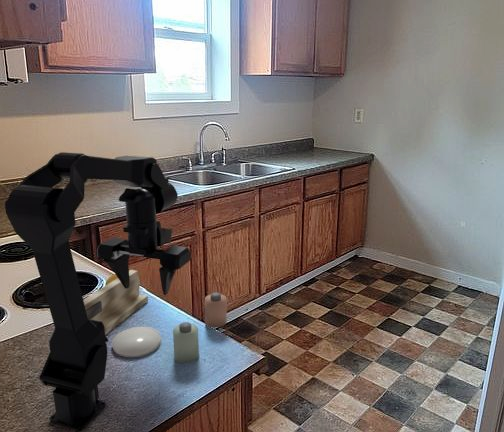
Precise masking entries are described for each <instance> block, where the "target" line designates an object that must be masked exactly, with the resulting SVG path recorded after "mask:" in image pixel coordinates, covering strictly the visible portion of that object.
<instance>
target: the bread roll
mask: <svg viewBox="0 0 504 432" xmlns="http://www.w3.org/2000/svg"><path fill="white" fill-rule="evenodd" d="M117 278H118V277H117V276H116V274H115V273H114V274H113V275H111V276H109V277H108V278H107V280H106V281H105V283H104V284H105V285H104V286H106V285H107V284H109V283H111V282H112V281H114V280H115V279H117ZM138 283H139V287H140V286H141V279H140V277H139V276H138Z"/></svg>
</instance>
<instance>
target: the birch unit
mask: <svg viewBox="0 0 504 432" xmlns="http://www.w3.org/2000/svg"><path fill="white" fill-rule="evenodd" d="M138 277H139V273H138V270H135V269H129V278H130V284H129V288H127V289H125V288H124V286H123V285H122V283H121V282H120V280H119V279H118V278H117V279H115V280H114V281H112V282H111V283H109V284H107V285H106V286H105V285H104V286H103V287H100V289H98V290H97V291H95V292H93V293H92V294H90V295H88V296H87V297H85V298H83V301H84V305H85V309H86V313H87V317H88V319H90V320H95V321H100V322H102V323H103V325H104V328H105V335H106V336H107V334H109V333H110V332H111V331H112V330H113V329H115V328H117V326H119V325H120V324H121V323H122V322H123V321H125V320H126V319H127V318H128V317H130V316H131V315H133V313H135V312H136V311H137V310H139V309H140V308H141V307H143V306H145V304H147V303H148V302H149V296H148V295H146V294H140V286H139V283H138Z"/></svg>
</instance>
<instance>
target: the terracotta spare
mask: <svg viewBox="0 0 504 432" xmlns="http://www.w3.org/2000/svg"><path fill="white" fill-rule="evenodd" d="M227 299H228V298H227V297H226V295H223V294H221V293H220V292H212V293H210V294H208V295H206V296H205V298H204V323H205V325H206V326H207V327H209V328H213V329H215V328H217V329H218V328H222V327H224V326H226V324H227V320H228V319H227V318H228V317H227V316H228V315H227V314H228V313H227V312H228V305H227V302H228V300H227Z"/></svg>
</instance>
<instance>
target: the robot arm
mask: <svg viewBox="0 0 504 432" xmlns="http://www.w3.org/2000/svg"><path fill="white" fill-rule="evenodd" d="M157 162H158V161H157V159H156V158H155V157H150V156H136V155H135V156H134V155H123V156H121V155H120V156H116V157H115V158H109V157H100V156H94V155H93V156H92V155H86V154H84V153H80V152H78V153H77V152H66V151H65V152H58V153H55V154H54V155H53V156H52V157H51V158H50V159H49V161H48V162H47V163H46V164H45V165H43V166H41V167H39V168H38V169H36V170H35V171H32V172H31V173H30V174H28V175H26V177H25V178H23V179H22V181H20V183H19V184H18V185H17V186H15V188H13V189H12V190H11V192H10V193H9V195H8V198H7V199H6V200H5V203H4V210H5V214H6V217H7V219H8V220H9V222H10V224H11V226H12V229H13V230H14V233H16V235H17V236H18V237H19V238H20V239H21V240H22V241H23V242H24V243H25V244H26V245H27V246H28V247H29V248H30V249H31V251H32V253H33V257H34V261H35V264H36V267H37V271H38V275H39V277H40V280H41V283H42V288H43V292H44V295H45V299H46V301H47V305H48V309H49V311H50V315H51V319H52V322H53V325H54V330H53V332H52V334H51V337H50V339H49V340H48V344H49V345H48V346H49V351H50V352H49V353H48V356H47V359H46V360H45V363H44V365H43V368H42V370H41V372H40V375H39V377H38V379H39V381H40V382H41V384H42V386H45V387H47V386H48V387H51V388H55V389H53V390H52V397H53V403H54V411H55V412H54V413H53V414H52V415H51V416H49V421H50V422H51V423H54V424H57V425H60V426H63V427H65V428H69V429H72V430H74V431H78V432H79V431H83V429H85V427H86V426H87V425H89V423H91V421H93V420H94V418H96V416H97V415H98V414H99V413H101V411H102V410H103V409H104V408H106V402H105V401H102V400H99V399H100V397H99V395H100V394H99V388H98V386H99V385H100V384H101V383H102V382H103V381H104V380H105V376H106V370H107V369H106V368H107V363H108V362H107V361H108V345H107V343H108V342H109V339H108V338H107V334H106V335H105V328H104V325H103V323H102V322H100V321H95V320H90V319H88V317H87V313H86V309H85V305H84V301H83V300H84V297H83V293H82V289H81V286H80V281H79V278H78V274H77V270H76V266H75V262H74V261H75V260H74V258H73V253H72V250H71V246H70V245H71V244H70V238H71V236H72V234H73V231H74V229H75V226H76V216H75V212H76V211H77V210H78V208H79V207H80V205H81V204H82V202H83V201H84V199H85V187H86V186H85V184H86V182H87V181H88V180H89V179H90V180H106V181H109V180H111V181H113V182H114V183H116V184H119V185H123V186H129V187H132V188H124V191H123V193H121V194H120V196H119V198H118V201H119V202H120V203H121V202H122V203H125V214H126V225H124V226H123V229H122V230H123V232H124V233H127V239H126V238H119V237H111V238H110V239H107V240H105V241H103V242H101V243H99V245H97V249H96V251H97V252H96V253H97V258H98V259H101V260H103V263H105V264H106V265H108V267H109V268H110V269H111V271H112V272H113V273H114V275H115V274H116V276H117V277H118V279H119V280H120V282H121V283H122V285H123V286H124V288H125V289H127V288H129V284H130V278H129V271H130V269H129V260H130V256H134V257H140V258H141V257H142V258H146V259H147V258H148V259H155V260H159V265H160V266H161V267H160V268H158V270H159V276H160V282H161V283H160V284H161V290H162V293H163V295H164V296H167V295H168V294H169V292H170V288H171V284H172V281H173V279H174V276H175V274H176V273H177V272H176V271H178V270H180V269H181V268H182V267H184V266H185V265H186V264H188V263H189V262H190V261H191V260H192V252H191V250H190V249H189V248H188V247H187V246H179V245H171V246H170V247H168V248H166V249H159V247H163V246H164V245H165V243H166V244H171V242H172V235H173V228H164V227H162V225H161V221H158V220H157V214H159V213H160V212H161V213H162V212H163V211H165V210H166V209H169V208H170V207H173V206H174V205H175V204H176V202H177V200H178V196H179V195H178V192H177V190H176V188H175V186H174V185H173V184H171V183H170V182H169V177H167V176H165V175H164V173H163V171H162V169H161V166H160V165H159V164H158V163H157ZM63 179H65V180H69V182H68V183H67V184H66V185H65V187H64V188H60V187H55V186H56V185H58V184H59V183H60V182H62V180H63Z"/></svg>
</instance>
